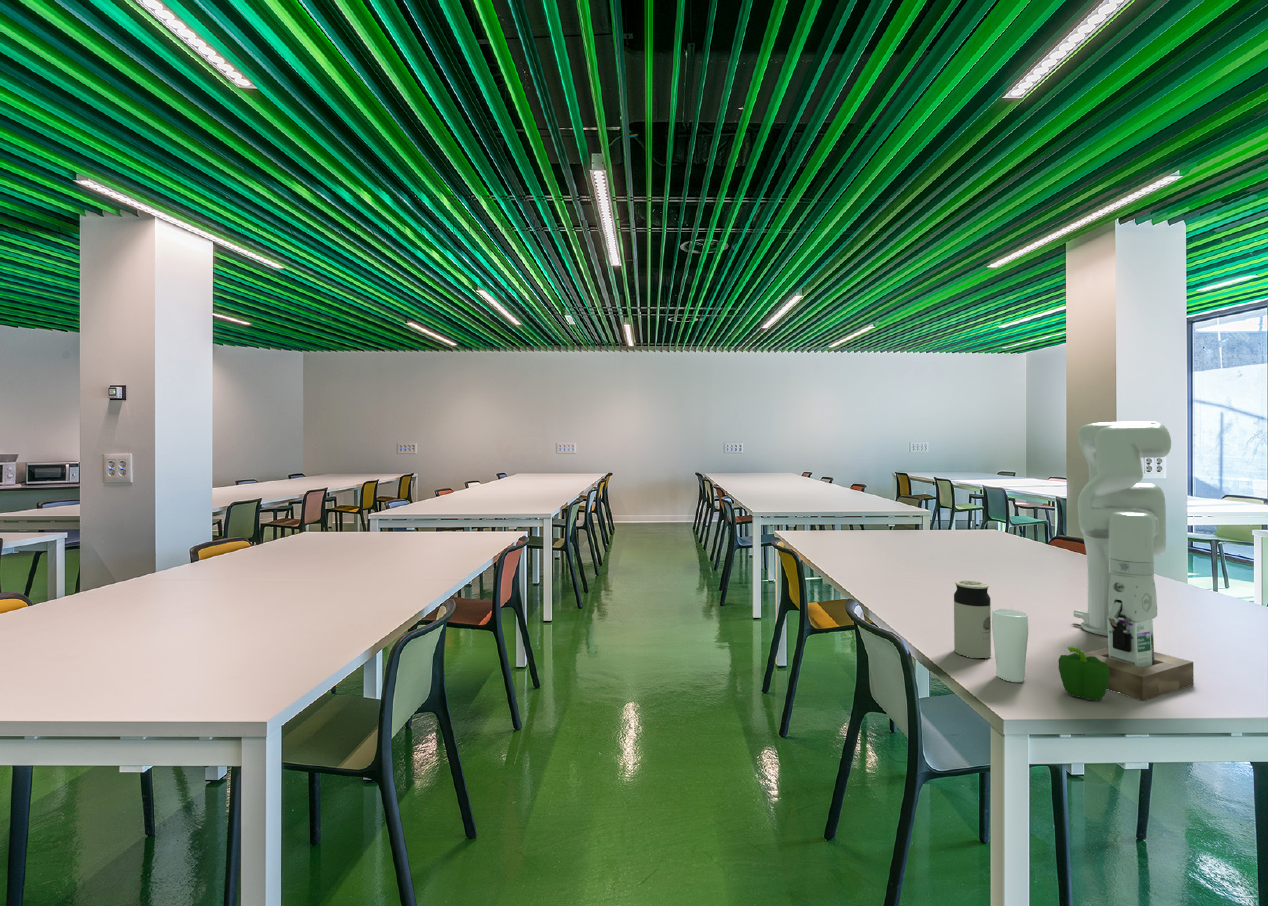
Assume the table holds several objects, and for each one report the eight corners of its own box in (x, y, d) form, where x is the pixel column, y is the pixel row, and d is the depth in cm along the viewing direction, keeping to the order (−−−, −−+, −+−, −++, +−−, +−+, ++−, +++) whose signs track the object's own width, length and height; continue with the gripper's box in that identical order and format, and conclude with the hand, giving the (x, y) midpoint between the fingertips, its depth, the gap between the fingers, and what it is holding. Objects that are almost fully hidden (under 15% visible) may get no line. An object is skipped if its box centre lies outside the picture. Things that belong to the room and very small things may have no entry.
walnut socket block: (1072, 678, 127) (1072, 656, 127) (1122, 664, 135) (1122, 643, 135) (1143, 701, 115) (1142, 676, 115) (1193, 684, 123) (1193, 661, 123)
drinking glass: (994, 670, 131) (994, 606, 131) (1029, 677, 127) (1029, 611, 127) (990, 679, 126) (990, 613, 126) (1027, 687, 122) (1026, 618, 122)
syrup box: (1138, 688, 121) (1136, 621, 121) (1107, 677, 127) (1106, 614, 127) (1155, 684, 123) (1154, 618, 123) (1125, 674, 129) (1124, 611, 128)
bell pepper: (1110, 695, 118) (1110, 647, 118) (1109, 708, 112) (1108, 658, 112) (1060, 684, 123) (1060, 639, 124) (1056, 696, 117) (1056, 648, 117)
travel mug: (947, 651, 145) (946, 581, 145) (969, 647, 147) (968, 578, 147) (975, 661, 137) (974, 588, 137) (998, 657, 140) (997, 585, 140)
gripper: (1129, 574, 118) (1130, 659, 118) (1173, 567, 125) (1173, 647, 125) (1088, 568, 125) (1089, 648, 125) (1132, 561, 132) (1133, 637, 132)
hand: (1131, 647), depth 125 cm, fingers open, 6 cm apart
